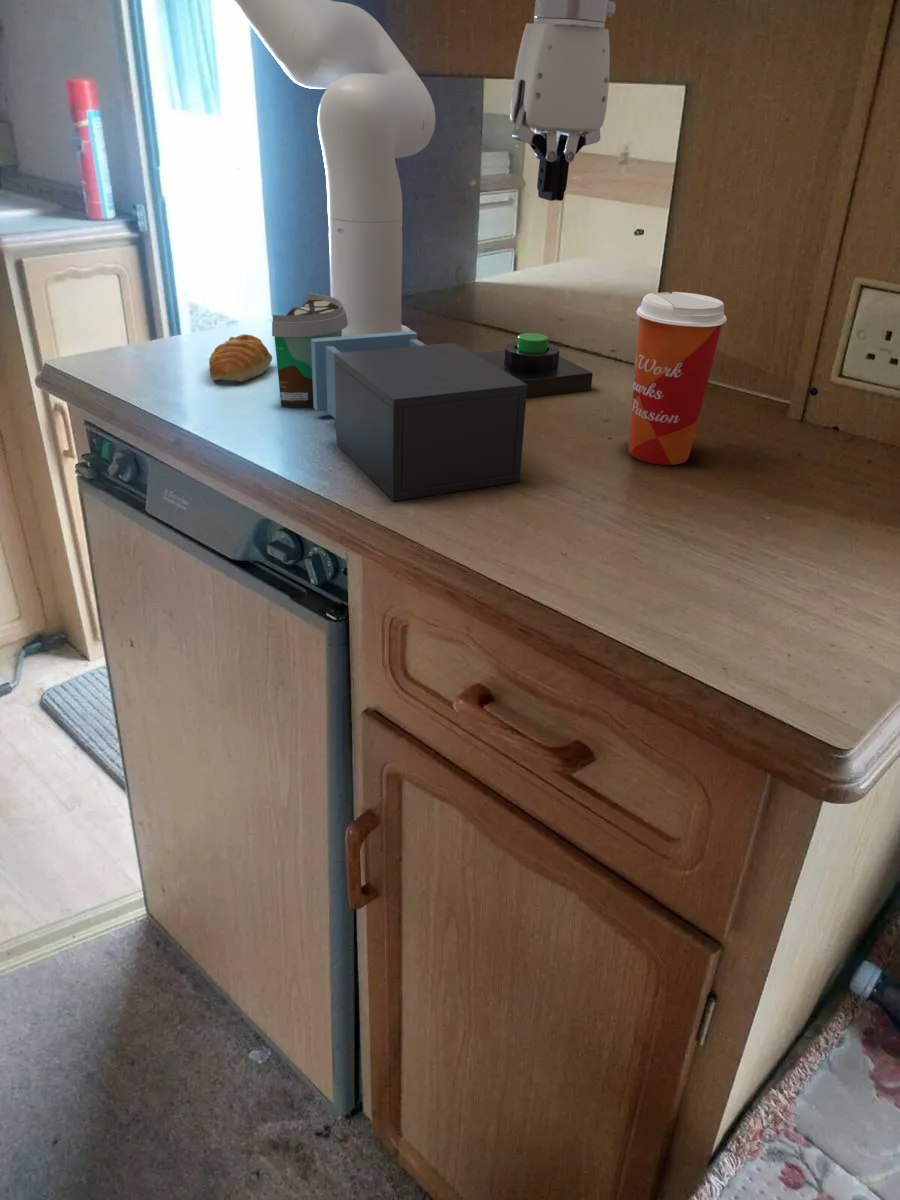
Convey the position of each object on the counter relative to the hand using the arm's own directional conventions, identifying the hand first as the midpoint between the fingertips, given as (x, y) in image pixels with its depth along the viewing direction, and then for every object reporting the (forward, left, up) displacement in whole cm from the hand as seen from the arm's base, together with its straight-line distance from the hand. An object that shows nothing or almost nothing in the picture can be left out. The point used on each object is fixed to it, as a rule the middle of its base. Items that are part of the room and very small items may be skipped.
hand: (550, 198), depth 105 cm
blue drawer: (+12, -26, -19) cm, 34 cm away
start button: (+4, -3, -16) cm, 17 cm away
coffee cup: (+30, -3, -20) cm, 36 cm away
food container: (+2, -29, -20) cm, 35 cm away
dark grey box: (+24, -26, -20) cm, 41 cm away
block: (+4, -3, -20) cm, 21 cm away
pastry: (-10, -35, -20) cm, 42 cm away
